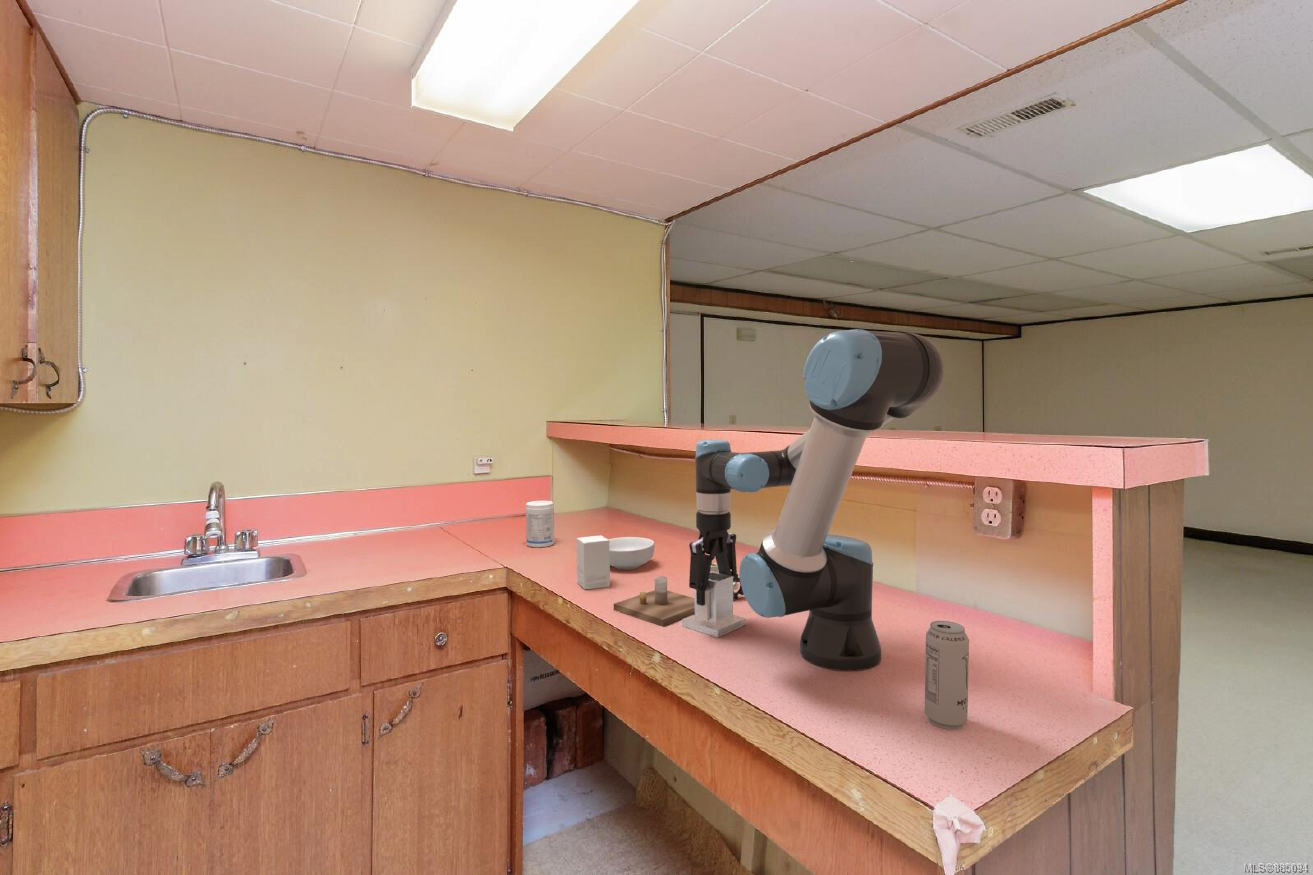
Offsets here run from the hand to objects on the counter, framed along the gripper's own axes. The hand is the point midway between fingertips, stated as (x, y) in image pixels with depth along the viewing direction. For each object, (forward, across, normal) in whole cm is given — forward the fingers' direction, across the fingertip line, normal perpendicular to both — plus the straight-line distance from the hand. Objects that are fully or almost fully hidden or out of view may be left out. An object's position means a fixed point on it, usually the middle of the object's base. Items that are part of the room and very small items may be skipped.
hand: (713, 614), depth 139 cm
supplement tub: (+3, -20, -92) cm, 94 cm away
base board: (+2, 0, -16) cm, 16 cm away
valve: (+3, -20, -13) cm, 24 cm away
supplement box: (+3, -2, -43) cm, 43 cm away
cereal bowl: (+3, -21, -50) cm, 54 cm away
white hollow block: (+2, 0, 0) cm, 2 cm away
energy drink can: (+3, +8, +52) cm, 53 cm away
